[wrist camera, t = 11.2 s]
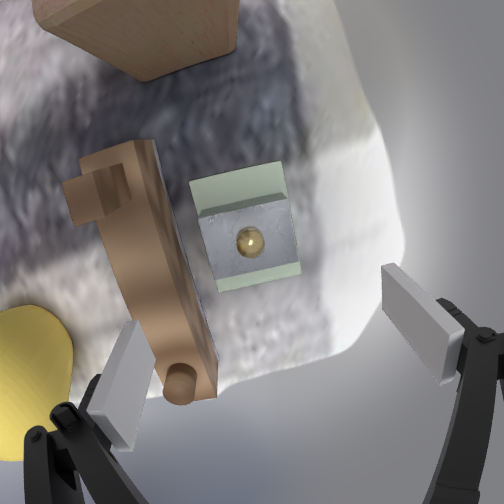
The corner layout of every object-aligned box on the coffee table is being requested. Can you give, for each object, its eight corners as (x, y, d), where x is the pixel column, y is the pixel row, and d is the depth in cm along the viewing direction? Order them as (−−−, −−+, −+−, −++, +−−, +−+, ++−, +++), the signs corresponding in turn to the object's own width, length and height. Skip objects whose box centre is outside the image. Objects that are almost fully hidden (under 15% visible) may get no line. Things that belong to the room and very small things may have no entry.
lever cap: (201, 210, 31) (196, 222, 27) (281, 191, 31) (290, 201, 27) (216, 265, 33) (214, 285, 29) (292, 248, 33) (301, 266, 29)
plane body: (107, 154, 29) (39, 167, 17) (154, 138, 29) (105, 140, 17) (178, 364, 38) (164, 445, 26) (218, 357, 38) (217, 440, 26)
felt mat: (189, 180, 31) (188, 181, 30) (280, 160, 31) (281, 160, 30) (219, 289, 35) (218, 292, 35) (300, 271, 35) (301, 273, 34)
